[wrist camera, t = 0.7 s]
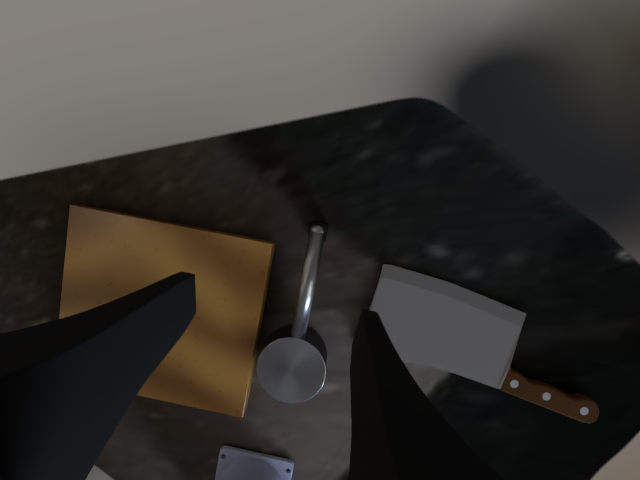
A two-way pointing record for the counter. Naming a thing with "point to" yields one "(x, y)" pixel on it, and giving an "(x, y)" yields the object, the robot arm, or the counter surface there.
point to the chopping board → (211, 297)
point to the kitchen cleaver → (463, 337)
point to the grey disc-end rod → (297, 339)
